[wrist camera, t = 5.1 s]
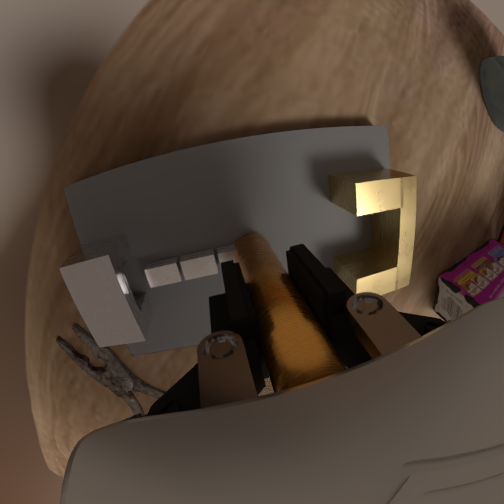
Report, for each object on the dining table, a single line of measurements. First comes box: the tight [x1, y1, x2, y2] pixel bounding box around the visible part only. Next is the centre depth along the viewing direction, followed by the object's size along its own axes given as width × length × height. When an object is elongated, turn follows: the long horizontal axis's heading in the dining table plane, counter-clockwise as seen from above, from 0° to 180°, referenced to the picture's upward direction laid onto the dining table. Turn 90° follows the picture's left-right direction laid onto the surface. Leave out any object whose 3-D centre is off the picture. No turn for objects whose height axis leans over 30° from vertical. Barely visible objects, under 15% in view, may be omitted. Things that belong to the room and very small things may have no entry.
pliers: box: [56, 323, 166, 415], centre depth 21 cm, size 10×1×20 cm
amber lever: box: [144, 233, 347, 392], centre depth 10 cm, size 7×2×10 cm, turn 99°
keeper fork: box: [328, 168, 416, 295], centre depth 14 cm, size 4×7×3 cm, turn 9°
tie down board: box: [63, 126, 390, 355], centre depth 16 cm, size 19×12×2 cm, turn 99°
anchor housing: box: [59, 233, 153, 347], centre depth 13 cm, size 3×5×3 cm, turn 9°
